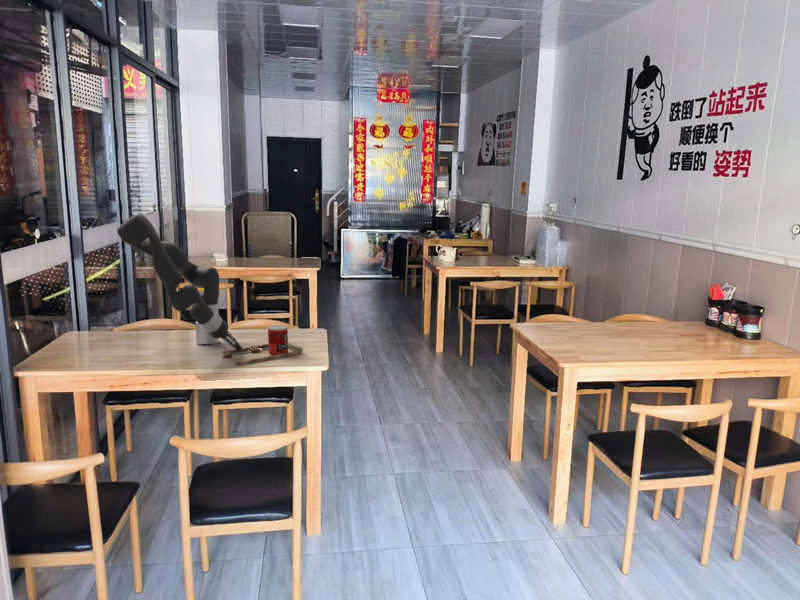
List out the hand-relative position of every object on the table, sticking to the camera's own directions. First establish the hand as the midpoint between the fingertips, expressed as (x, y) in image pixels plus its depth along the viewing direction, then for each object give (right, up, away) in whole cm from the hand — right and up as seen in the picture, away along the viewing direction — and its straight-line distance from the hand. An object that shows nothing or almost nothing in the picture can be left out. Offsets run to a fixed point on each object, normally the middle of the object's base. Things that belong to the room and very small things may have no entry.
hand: (239, 349), depth 242 cm
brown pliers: (+8, -2, +2) cm, 8 cm away
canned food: (+15, -2, +4) cm, 15 cm away
